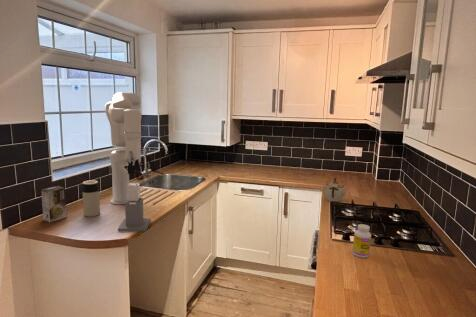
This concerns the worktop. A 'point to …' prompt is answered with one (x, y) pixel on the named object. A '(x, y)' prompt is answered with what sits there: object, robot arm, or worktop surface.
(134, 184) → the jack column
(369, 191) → the worktop surface
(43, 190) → the coffee box
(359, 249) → the supplement bottle
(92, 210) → the travel mug
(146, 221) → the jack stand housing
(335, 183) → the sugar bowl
